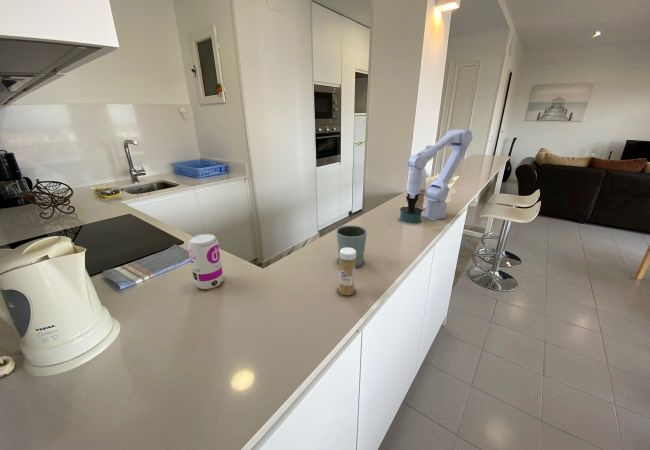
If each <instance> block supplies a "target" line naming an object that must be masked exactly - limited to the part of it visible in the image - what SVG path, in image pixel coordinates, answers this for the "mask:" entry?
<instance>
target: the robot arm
mask: <svg viewBox="0 0 650 450" xmlns="http://www.w3.org/2000/svg"><path fill="white" fill-rule="evenodd" d="M472 140H473V132H472V130H471V129H460V128H459V129H458V128H457V129H456V128H451V129H449V131H446V133H445V135H444V136H442V137H441V138H440V139H439V140H438V141H436V143H434V144H432V145H431V144H428V145H426V146H425V148H423V149H422V150H421V151H418V152H417V154H413V155H411V156H410V157H409V159H408V161H407V166H408V170H409V172H408V181H407V186H408V189H407V188H406V189H404V192H405V193H406V195H407V194H408V196H406V195H405V200H406V199H407V201H408V210H409V211H413V210H414V207H415V204H416V202H417V200H418V199H419V198H418V196H419V193H420V186H421V178H422V170H423V168H426V166H427V164H428V163H429V161H431V160H432V159H434V158H435V157H437V155H438V152H439V151H441V150H442V149H444V148H445V147H447V146H448V145H449V146H450V147H451V149H452V152H451V154H450V156H449V158H448V160H447V161H446V163H445V165H443V168H442V170H441V172H440V174H439V175H438V176H437V179H436V180H434V181H432V182H431V183H430V184H429V185H428V186H426V188H425V195H424V197H426V200H427V201H426V207H425V214H421V217H424V218H427V219H429V220H432V221H435V220H443V219H447V216H446V214H447V213H446V212H447V208H448V205H447V202H446V200H447V198H448V195H449V192H450V187H449V185H448V184H449V183H450V181H451V179H452V177H453V175H454V174H455V172H456V171H457V168H458V167H459V165H460V164H461V162H462V160H463V158H464V157H465V155H466V153H467V150H468V148H469V146H470V144H471V142H472Z"/></svg>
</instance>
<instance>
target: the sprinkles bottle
mask: <svg viewBox="0 0 650 450" xmlns="http://www.w3.org/2000/svg"><path fill="white" fill-rule="evenodd" d="M355 259H356V250H355V249H353V248H348V247H347V248H342V249H341V250H340V263H339V275H338V277H339V278H338V281H339V286H338V293H340V295H343V296H351V295H353V294H354V292H355V279H356V278H355V277H356V276H355V275H356V267H355Z"/></svg>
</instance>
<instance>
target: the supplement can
mask: <svg viewBox="0 0 650 450" xmlns="http://www.w3.org/2000/svg"><path fill="white" fill-rule="evenodd" d="M187 251H188V258H189V262H190V266H191V271H192V277H193V281H194V286H196V287H197V288H199V289H200V290H211V289H214V288H216V287H218V286H220V285H221V284H222V282H223V281H224V274H223V273H224V271H223V266H222V265H223V264H222V259H221V253H220V247H219V240H218V239H217V237H216V236H215V234H212V233H201V234H200V233H199V234H196V235H193V236H191V237H190V238H189V239H188V243H187Z"/></svg>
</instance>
